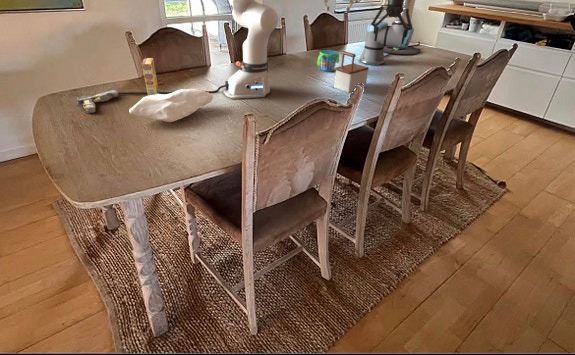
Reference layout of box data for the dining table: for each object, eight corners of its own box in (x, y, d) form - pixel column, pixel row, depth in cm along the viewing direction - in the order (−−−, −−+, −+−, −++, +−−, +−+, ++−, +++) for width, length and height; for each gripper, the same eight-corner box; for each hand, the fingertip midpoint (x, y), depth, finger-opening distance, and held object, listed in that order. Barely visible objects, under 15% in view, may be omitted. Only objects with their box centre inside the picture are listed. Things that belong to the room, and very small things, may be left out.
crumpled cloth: (117, 110, 146) (113, 90, 140) (195, 92, 166) (194, 73, 160) (143, 139, 134) (140, 118, 128) (223, 116, 154) (224, 96, 148)
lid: (349, 74, 174) (351, 55, 169) (334, 69, 180) (336, 51, 175) (368, 69, 182) (370, 51, 178) (353, 65, 188) (355, 47, 183)
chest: (348, 92, 179) (350, 74, 175) (334, 87, 185) (335, 69, 180) (365, 87, 187) (368, 69, 182) (351, 82, 193) (353, 65, 188)
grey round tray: (430, 51, 257) (433, 37, 253) (397, 56, 240) (399, 42, 235) (392, 44, 282) (394, 31, 277) (360, 48, 264) (361, 35, 260)
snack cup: (332, 66, 217) (333, 48, 212) (343, 70, 210) (345, 52, 204) (311, 69, 210) (312, 51, 204) (322, 74, 202) (324, 55, 197)
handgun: (128, 97, 156) (111, 87, 164) (86, 107, 144) (70, 97, 152) (129, 103, 157) (113, 94, 165) (88, 114, 146) (72, 103, 154)
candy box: (157, 97, 164) (152, 63, 155) (147, 98, 163) (141, 63, 155) (158, 91, 171) (153, 57, 163) (149, 91, 170) (143, 58, 162)
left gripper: (317, -24, 156) (315, 11, 163) (365, -23, 157) (360, 12, 164) (316, -25, 161) (314, 9, 169) (362, -24, 162) (358, 10, 169)
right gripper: (369, -6, 175) (362, 40, 187) (422, -1, 168) (412, 46, 179) (372, -7, 181) (366, 37, 193) (424, -3, 173) (414, 43, 185)
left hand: (337, 11), depth 166 cm, fingers open, 8 cm apart
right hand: (388, 42), depth 186 cm, fingers open, 13 cm apart
